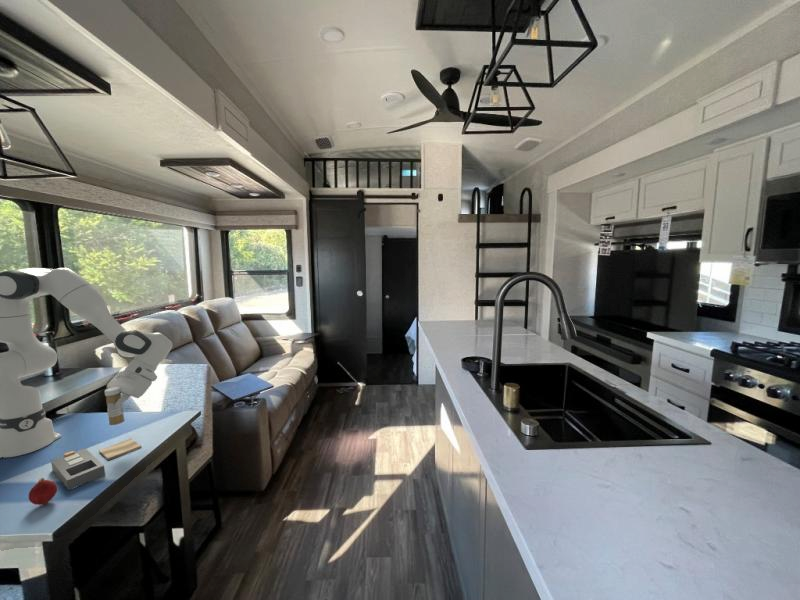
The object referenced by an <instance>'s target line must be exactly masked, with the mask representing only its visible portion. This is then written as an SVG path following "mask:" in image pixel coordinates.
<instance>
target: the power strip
mask: <svg viewBox="0 0 800 600" xmlns="http://www.w3.org/2000/svg"><path fill="white" fill-rule="evenodd" d="M50 464H51V469H52V472H53V473H54V472H55V473H56V474H55V473H54V474H55V475H56V477H57V478H58V477H59V478H60V479H59V478H58V479H59V480H60V482H61V481H62V482H63V483H64V484H63V483H62V482H61V483H62V484H63V485H64V487H65V486H66V487H67V488H66V487H65V488H66V490H67V491H68V490H69V491H71V490H70V489H72V488H74V487H76V486H79V485H81V484H83V485H85V484H84V483H86V482H88V483H90V482H93V481H95V480H97V479H99V477H100V478H103V477H104V476H106V471H105V464H103V463H102V462H101V461H100V460H98V458H97V457H96V456H95V455H93V454H92V453H91V451H90V450H88V449H87V448H82V449H79V450H76V451H74V450H72V451H68V452H66V453H63V456H60V457H56V458H54V459H52V460H50ZM96 478H97V479H96ZM94 479H95V480H94ZM92 480H93V481H92ZM89 481H90V482H89ZM86 484H87V483H86ZM81 486H82V485H81ZM79 487H80V486H79ZM76 488H77V487H76ZM74 489H75V488H74ZM72 490H73V489H72Z"/></svg>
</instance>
